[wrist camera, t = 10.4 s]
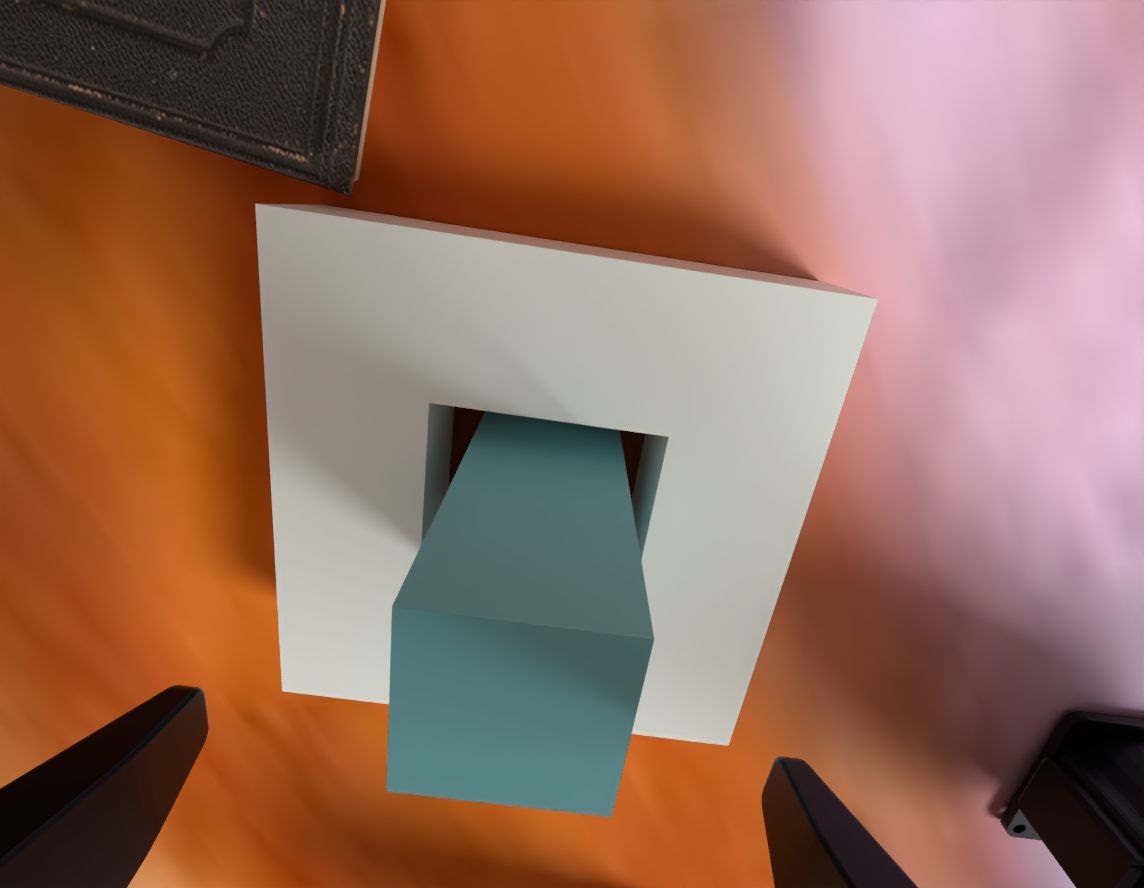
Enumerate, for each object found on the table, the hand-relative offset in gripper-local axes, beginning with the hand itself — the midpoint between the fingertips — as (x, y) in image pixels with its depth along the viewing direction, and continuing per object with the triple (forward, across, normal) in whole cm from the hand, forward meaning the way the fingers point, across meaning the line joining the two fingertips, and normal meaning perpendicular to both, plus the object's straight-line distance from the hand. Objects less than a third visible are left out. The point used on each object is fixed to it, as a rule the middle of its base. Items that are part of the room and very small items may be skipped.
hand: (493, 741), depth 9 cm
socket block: (+10, 0, 0) cm, 10 cm away
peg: (+10, 0, 0) cm, 10 cm away
